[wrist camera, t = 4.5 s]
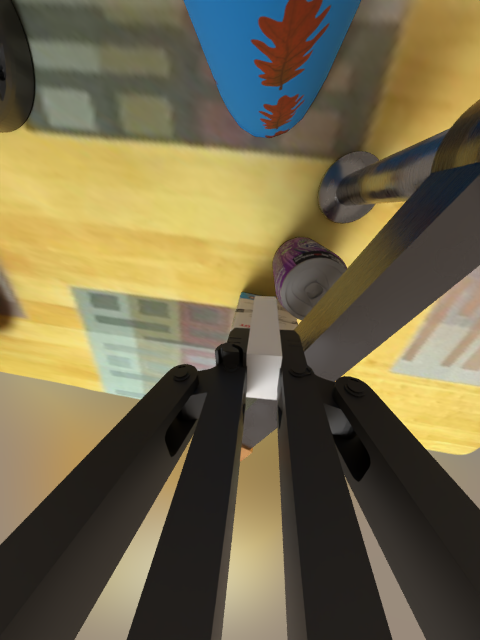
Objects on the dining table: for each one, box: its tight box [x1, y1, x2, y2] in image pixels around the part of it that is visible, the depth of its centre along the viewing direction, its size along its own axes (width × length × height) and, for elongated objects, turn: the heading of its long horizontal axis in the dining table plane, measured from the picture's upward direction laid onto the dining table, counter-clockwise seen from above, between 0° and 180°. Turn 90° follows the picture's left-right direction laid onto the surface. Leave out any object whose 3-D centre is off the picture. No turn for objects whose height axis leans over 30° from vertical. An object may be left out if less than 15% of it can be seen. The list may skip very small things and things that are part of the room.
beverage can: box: [273, 237, 347, 320], centre depth 23 cm, size 7×7×12 cm
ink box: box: [230, 292, 298, 332], centre depth 27 cm, size 8×5×12 cm, turn 80°
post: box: [318, 129, 450, 223], centre depth 16 cm, size 7×7×16 cm
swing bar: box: [240, 100, 480, 461], centre depth 13 cm, size 28×4×4 cm, turn 151°
